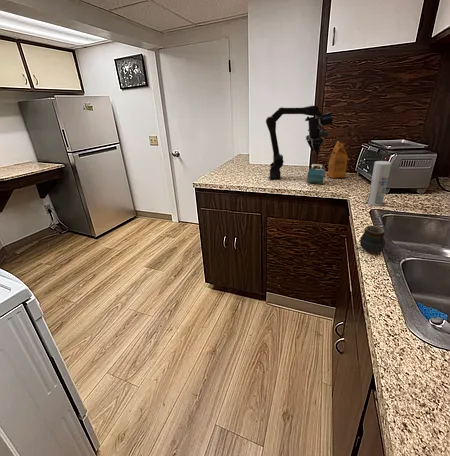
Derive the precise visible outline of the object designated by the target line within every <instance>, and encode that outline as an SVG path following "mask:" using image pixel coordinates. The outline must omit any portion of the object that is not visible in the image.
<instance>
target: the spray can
mask: <svg viewBox="0 0 450 456" xmlns="http://www.w3.org/2000/svg"><path fill="white" fill-rule="evenodd" d="M391 168H392V161H391V162H390V161H386V160H376V161H374V163H373V169H372V175H371V180H370V181H371V182H370V187H369V193H368V199H367V204H368V205H370V206H375V207H380V206H382V205H383V204H384V199H385V194H386V190H387V185H388V183H389V182H388V181H389V177H390V172H391Z"/></svg>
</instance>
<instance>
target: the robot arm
mask: <svg viewBox="0 0 450 456" xmlns="http://www.w3.org/2000/svg"><path fill="white" fill-rule="evenodd" d="M319 108H320V107H319V106H317V105H308V106H302V107H281V106H280V107H278V109H277V110H276V111H275V112H274V113H273V114H271V115H269V116H267V117H266V118H265V124H266V128H267V130H268V132H269V137H270V143H271V148H272V154H273V155H272V162H271V163H270V164H269V167H270V168H269V176H268V178H269V179H270V181H274V180H275V181H276V180H277V181H278V180H281V175H282V171H281V168H282V167H283V166H284V163H285V160H284V155H283V154H281V153H280V148H279V143H278V136H277V121H278V120H279V119H280V118H281V117H282V116H283V115H306V118H305V119H304V121H305V122H308V129H307V131H308V134H307V135H306V136H305V141H306V142H307V145H308V146H309V148H310V150H311V152H314V154H315V155H318V154H319V150H320V147H321V145H323V143H324V139H323V138H326V139H327V138H328V137H329V135H330V131H329V132H328V131H326V129H323V128H322V129H321V128H319V127H320V126H321V127H324V126H330V125H332V124H333V117H332V113H331V112H327V113H322V112H321V111H320V109H319ZM309 116H310V117H309ZM319 125H320V126H319Z"/></svg>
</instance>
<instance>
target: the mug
mask: <svg viewBox="0 0 450 456" xmlns="http://www.w3.org/2000/svg"><path fill="white" fill-rule="evenodd" d="M315 167H319V168H315ZM326 174H327V173H326V169H325V168H323V164H319V163H312V164H311V167H310V168H308V170H307V176H306V177H307V178H306V181H307V184H318V185H324V183H325V180H326Z"/></svg>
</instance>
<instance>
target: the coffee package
mask: <svg viewBox="0 0 450 456" xmlns="http://www.w3.org/2000/svg"><path fill="white" fill-rule="evenodd" d="M345 146H346V143H341V141H339V140H338V141H336V144H335V145H334V146H333V149H332V151H331V154H330V156H329V160H328V168H327V176H328V177H329V178H331V179H337V178H340V179H341V178H345V177H346V173H347V165H348V158H349V155H348V153H347V151H346V149H345Z"/></svg>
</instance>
